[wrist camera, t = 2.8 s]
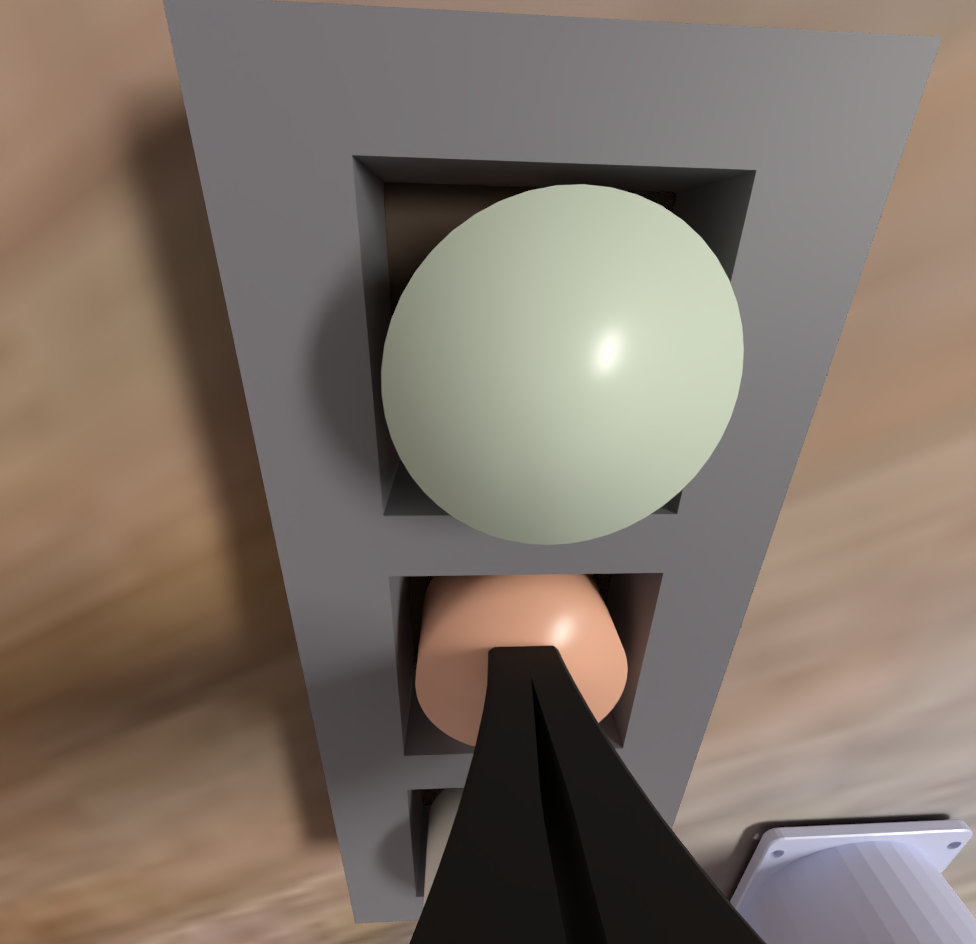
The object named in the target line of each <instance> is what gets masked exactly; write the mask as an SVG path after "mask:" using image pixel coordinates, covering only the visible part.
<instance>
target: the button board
mask: <svg viewBox="0 0 976 944" xmlns="http://www.w3.org/2000/svg"><path fill="white" fill-rule="evenodd" d="M163 4H164V9H165V13H166V18H167V23H168V28H169V33H170V37H171V42H172V47H173V52H174V57H175V61H176V66H177V71H178V76H179V81H180V85H181V90H182V95H183V100H184V105H185V109H186V114H187V119H188V124H189V129H190V133H191V138H192V143H193V148H194V152H195V157H196V162H197V167H198V172H199V176H200V181H201V186H202V191H203V196H204V200H205V205H206V210H207V215H208V220H209V224H210V229H211V234H212V239H213V244H214V248H215V253H216V258H217V263H218V268H219V272H220V277H221V282H222V287H223V292H224V296H225V301H226V306H227V311H228V315H229V320H230V325H231V330H232V335H233V339H234V344H235V349H236V354H237V359H238V363H239V368H240V373H241V378H242V383H243V387H244V392H245V397H246V402H247V407H248V411H249V416H250V421H251V426H252V431H253V435H254V440H255V445H256V450H257V455H258V459H259V464H260V469H261V474H262V479H263V483H264V488H265V493H266V498H267V502H268V507H269V512H270V517H271V522H272V526H273V531H274V536H275V541H276V546H277V550H278V555H279V560H280V565H281V570H282V574H283V579H284V584H285V589H286V594H287V598H288V603H289V608H290V613H291V618H292V622H293V627H294V632H295V637H296V642H297V646H298V651H299V656H300V661H301V665H302V670H303V675H304V680H305V685H306V689H307V694H308V699H309V704H310V709H311V713H312V718H313V723H314V728H315V733H316V737H317V742H318V747H319V752H320V757H321V761H322V766H323V771H324V776H325V781H326V785H327V790H328V795H329V800H330V805H331V809H332V814H333V819H334V824H335V828H336V833H337V838H338V843H339V848H340V852H341V857H342V862H343V867H344V872H345V876H346V881H347V886H348V891H349V896H350V900H351V905H352V910H353V915H354V920H355V924H356V923H375V922H393V921H412V920H419V918H420V915H421V913H422V910H423V904H424V887H425V870H426V853H427V837H428V820H429V811H430V807H431V805H423V802H422V789H439V788H464V786H465V782H466V779H467V775H468V772H469V768H470V765H471V761H472V757H473V753H474V749H475V747H474V746H471V745H468V744H465V743H463V742H460V741H458V740H456V739H454V738H452V737H450V736H449V735H447V734H446V733H444V732H443V731H441V730H440V729H439V728H437V727H436V726H435V725H434V724H433V723H432V722H431V721H430V720H429V718H428V717H427V716H426V715H425V713H424V711H423V709H422V708H421V706H420V704H419V701H418V698H417V694H416V688H415V679H416V669H414V661H413V645H412V629H411V613H410V598H409V582H408V576H463V575H538V574H611V578H610V584H609V590H608V596H607V602H606V607H607V609H608V612H609V614H610V616H611V619H612V621H613V624H614V626H615V629H616V631H617V634H618V636H619V639H620V641H621V644H622V646H623V649H624V651H625V655H626V659H627V668H628V672H627V680H626V684H625V687H624V690H623V692H622V694H621V696H620V699H619V700H618V702H617V703H616V705H615V706H614V708H613V709H612V710H611V711H610V712H609V713H608V714H607V716H606V717H605V718H603V719H602V720H601V721H600V722H599V725H600V726H601V728H602V729H603V731H604V733H605V734H606V736H607V737H608V739H609V740H610V742H611V744H612V745H613V747H614V748H615V750H616V751H617V753H618V755H619V756H620V758H621V759H622V761H623V762H624V764H625V765H626V767H627V768H628V769H629V771H630V772H631V774H632V775H633V777H634V778H635V780H636V781H637V782H638V784H639V785H640V787H641V788H642V790H643V791H644V792H645V794H646V795H647V797H648V798H649V800H650V801H651V802H652V804H653V805H654V806H655V808H656V809H657V811H658V812H659V813H660V815H661V816H662V817H663V819H664V820H665V821H666V823H667V824H668V825H669V827H670V828H671V829H672V827H673V824H674V821H675V818H676V815H677V812H678V809H679V806H680V803H681V800H682V798H683V795H684V792H685V789H686V786H687V783H688V780H689V777H690V774H691V771H692V768H693V765H694V762H695V759H696V757H697V754H698V751H699V748H700V745H701V742H702V739H703V736H704V733H705V730H706V727H707V724H708V721H709V718H710V716H711V713H712V710H713V707H714V704H715V701H716V698H717V695H718V692H719V689H720V686H721V683H722V680H723V677H724V675H725V672H726V669H727V666H728V663H729V660H730V657H731V654H732V651H733V648H734V645H735V642H736V639H737V636H738V633H739V631H740V628H741V625H742V622H743V619H744V616H745V613H746V610H747V607H748V604H749V601H750V598H751V595H752V592H753V590H754V587H755V584H756V581H757V578H758V575H759V572H760V569H761V566H762V563H763V560H764V557H765V554H766V551H767V549H768V546H769V543H770V540H771V537H772V534H773V531H774V528H775V525H776V522H777V519H778V516H779V513H780V510H781V508H782V505H783V502H784V499H785V496H786V493H787V490H788V487H789V484H790V481H791V478H792V475H793V472H794V469H795V467H796V464H797V461H798V458H799V455H800V452H801V449H802V446H803V443H804V440H805V437H806V434H807V431H808V428H809V426H810V423H811V420H812V417H813V414H814V411H815V408H816V405H817V402H818V399H819V396H820V393H821V390H822V387H823V385H824V382H825V379H826V376H827V373H828V370H829V367H830V364H831V361H832V358H833V355H834V352H835V349H836V346H837V344H838V341H839V338H840V335H841V332H842V329H843V326H844V323H845V320H846V317H847V314H848V311H849V308H850V305H851V303H852V300H853V297H854V294H855V291H856V288H857V285H858V282H859V279H860V276H861V273H862V270H863V267H864V264H865V261H866V259H867V256H868V253H869V250H870V247H871V244H872V241H873V238H874V235H875V232H876V229H877V226H878V223H879V220H880V218H881V215H882V212H883V209H884V206H885V203H886V200H887V197H888V194H889V191H890V188H891V185H892V182H893V179H894V177H895V174H896V171H897V168H898V165H899V162H900V159H901V156H902V153H903V150H904V147H905V144H906V141H907V138H908V136H909V133H910V130H911V127H912V124H913V121H914V118H915V115H916V112H917V109H918V106H919V103H920V100H921V97H922V95H923V92H924V89H925V86H926V83H927V80H928V77H929V74H930V71H931V68H932V65H933V62H934V59H935V56H936V54H937V51H938V48H939V45H940V42H941V39H942V37H931V36H913V35H894V34H876V33H857V32H839V31H821V30H802V29H784V28H766V27H747V26H729V25H711V24H692V23H674V22H656V21H637V20H619V19H601V18H582V17H564V16H545V15H527V14H509V13H490V12H472V11H454V10H435V9H417V8H399V7H380V6H362V5H344V4H325V3H307V2H289V1H270V0H163ZM383 182H395V183H424V184H454V185H484V186H514V187H543V188H545V187H550V186H555V185H577V184H586V185H595V186H604V187H612V188H615V189H619V190H632V191H662V192H676V198H675V204H674V210H673V214H675V215H676V216H678V217H679V218H680V219H682V220H683V221H684V222H685V223H687V224H688V225H689V226H690V227H691V228H692V229H693V230H694V231H695V232H696V233H697V234H698V235H699V236H700V237H701V238H702V239H703V240H704V241H705V243H706V244H707V245H708V247H709V248H710V249H711V250H712V252H713V253H714V254H715V256H716V257H717V258H718V260H719V262H720V264H721V266H722V268H723V269H724V271H725V273H726V275H727V277H728V279H729V281H730V284H731V286H732V289H733V292H734V295H735V297H736V300H737V303H738V308H739V313H740V317H741V322H742V329H743V344H744V355H743V370H742V377H741V382H740V387H739V392H738V397H737V400H736V403H735V406H734V409H733V412H732V415H731V418H730V420H729V423H728V425H727V427H726V429H725V431H724V433H723V436H722V438H721V440H720V441H719V443H718V444H717V446H716V448H715V449H714V451H713V453H712V454H711V456H710V458H709V459H708V460H707V462H706V463H705V464H704V465H703V467H702V468H701V469H700V471H699V472H698V473H697V474H696V476H695V477H694V478H693V479H692V480H691V481H690V482H689V483H688V484H687V485H686V486H685V487H684V488H683V489H682V490H681V491H680V492H679V493H678V494H677V495H675V496H674V497H673V498H672V499H671V500H669V501H668V502H667V503H666V504H665V505H663V506H662V507H660V508H659V509H657V510H656V511H654V512H653V513H651V514H650V515H649V516H647V517H645V518H643V519H642V520H640V521H638V522H636V523H634V524H632V525H630V526H628V527H626V528H624V529H621V530H619V531H616V532H614V533H611V534H609V535H605V536H602V537H598V538H595V539H591V540H587V541H581V542H576V543H570V544H556V545H540V544H526V543H520V542H513V541H508V540H505V539H501V538H498V537H494V536H490V535H488V534H486V533H483V532H481V531H478V530H476V529H474V528H471V527H470V526H468V525H466V524H464V523H463V522H461V521H459V520H457V519H455V518H454V517H453V516H451V515H450V514H449V513H447V512H446V511H444V510H443V509H442V508H440V507H439V506H438V505H437V504H436V503H435V502H434V501H433V500H432V499H431V498H430V497H429V496H427V495H426V494H425V493H424V492H423V490H422V489H421V488H420V487H419V485H418V484H417V483H416V482H415V480H414V479H413V478H412V477H411V475H410V474H409V472H408V470H407V469H406V467H405V465H404V464H403V462H402V460H401V459H400V457H399V455H398V452H397V450H396V448H395V446H394V443H393V441H392V439H391V436H390V432H389V429H388V425H387V422H386V418H385V414H384V407H383V400H382V389H381V368H382V360H383V352H384V344H385V341H386V337H387V333H388V329H389V325H390V322H391V319H392V315H391V299H390V283H389V267H388V252H387V236H386V220H385V205H384V189H383Z"/></svg>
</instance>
